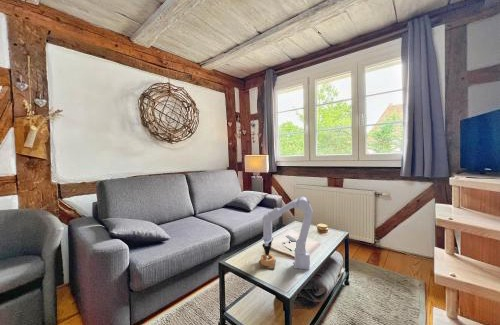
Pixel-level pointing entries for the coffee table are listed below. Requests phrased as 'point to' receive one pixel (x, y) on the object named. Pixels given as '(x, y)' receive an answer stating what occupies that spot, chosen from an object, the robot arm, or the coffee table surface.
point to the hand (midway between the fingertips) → (268, 251)
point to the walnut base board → (267, 266)
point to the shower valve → (291, 238)
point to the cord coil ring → (267, 262)
